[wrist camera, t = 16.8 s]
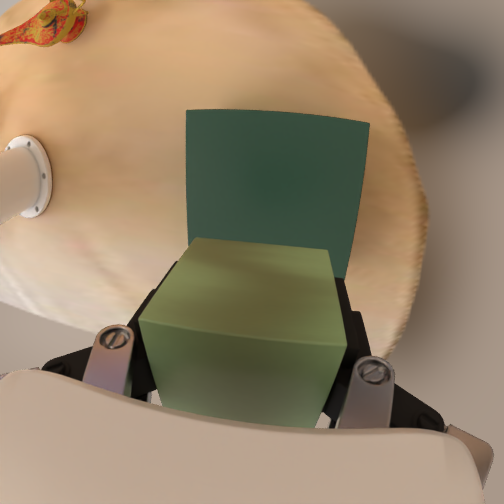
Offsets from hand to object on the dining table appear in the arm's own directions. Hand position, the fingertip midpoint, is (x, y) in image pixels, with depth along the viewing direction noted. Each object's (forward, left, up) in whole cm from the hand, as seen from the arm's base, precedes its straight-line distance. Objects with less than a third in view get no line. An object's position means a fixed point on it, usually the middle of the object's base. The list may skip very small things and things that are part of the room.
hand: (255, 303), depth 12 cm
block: (0, 0, 0) cm, 0 cm away
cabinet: (0, 0, -20) cm, 20 cm away
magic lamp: (-28, +22, -20) cm, 41 cm away
